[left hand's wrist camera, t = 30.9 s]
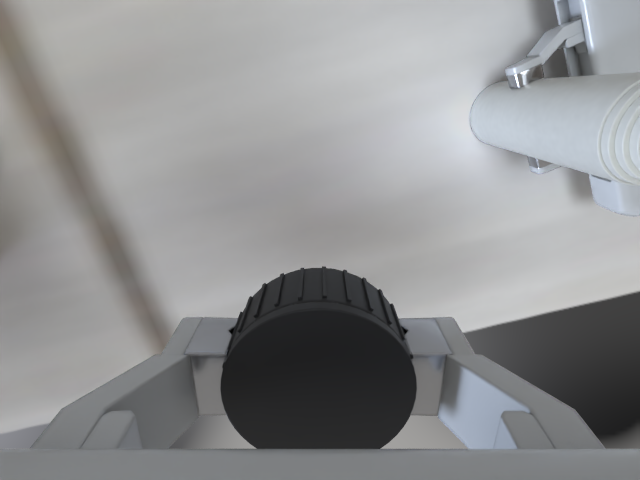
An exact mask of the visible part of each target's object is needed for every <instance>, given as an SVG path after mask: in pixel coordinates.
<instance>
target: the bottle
mask: <svg viewBox="0 0 640 480" xmlns="http://www.w3.org/2000/svg"><path fill="white" fill-rule="evenodd" d="M470 124H471V128H472V131H473V132H474V134H475V136H476V137H477V138H478V139H479V140H480V141H482V142H484V143H486V144H489V145H492V146H495V147H499V148H502V149H506V150H509V151H513V152H516V153H519V154H523V155H526V156H530V157H533V158H537V159H540V160H543V161H547V162H550V163H554V164H557V165H561V166H564V167H567V168H571V169H574V170H578V171H581V172H585V173H588V174H591V175H595V176H598V177H602V178H605V179H609V180H612V181H615V182H619V183H622V184H626V185H632V186H640V72H635V73H620V74H605V75H589V76H574V77H559V78H544V79H539V80H536V81H530V83H529V84H527V85H526V86H523V87H520V88H516V89H515V88H512V89H511V88H509V84H508V81H501V82H497V83H494V84H492V85H490V86H488V87H487V88H485V89H484V90H483V91H482V92H481V93H480V94H479V95H478V97H477V98H476V100H475V102H474V104H473V106H472V109H471V114H470Z"/></svg>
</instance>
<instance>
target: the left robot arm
mask: <svg viewBox="0 0 640 480" xmlns="http://www.w3.org/2000/svg"><path fill="white" fill-rule="evenodd" d="M237 320H238V318H213V317H204V318H203V317H186V318H183V319H182V320H181V322H180V324H179V325H178V327H177V329H176V330H175V332H174V334H173V335H172V337H171V339H170V340H169V342H168V344H167V345H166V347H165V349H164V350H163V352H162V354H161V355H154V356H152V357H150V358H149V359H147V360H145V361H143V362H142V363H140V364H138V365H137V366H135V367H133V368H131V369H130V370H128V371H126V372H125V373H123V374H121V375H119V376H118V377H116V378H114V379H112V380H111V381H109V382H107V383H106V384H104V385H102V386H100V387H99V388H97V389H95V390H93V391H92V392H90V393H88V394H87V395H85V396H83V397H81V398H80V399H78V400H76V401H75V402H73V403H71V404H69V405H68V406H66V407H64V408H62V409H61V410H60V412H59V413H58V414H57V415H56V417H55V418H54V419H53V420H52V421H51V423H50V424H49V425H48V427H47V428H46V429H45V430H44V431H43V433H42V434H41V435H40V436H39V438H38V439H37V440H36V441H35V443H34V444H33V445H32V446H31V447H30V449H0V480H640V449H605V447H604V446H603V445H602V444H601V442H600V441H599V440H598V438H597V437H596V436H595V435H594V433H593V432H592V431H591V430H590V428H589V427H588V426H587V424H586V423H585V422H584V421H583V419H582V418H581V417H580V416H579V414H578V413H577V412H576V411H575V409H573V408H571V407H569V406H568V405H566V404H564V403H563V402H561V401H559V400H558V399H556V398H554V397H552V396H551V395H549V394H547V393H546V392H544V391H542V390H541V389H539V388H537V387H535V386H534V385H532V384H530V383H529V382H527V381H525V380H523V379H522V378H520V377H518V376H517V375H515V374H513V373H512V372H510V371H508V370H506V369H505V368H503V367H501V366H500V365H498V364H496V363H495V362H493V361H491V360H489V359H488V358H486V357H484V356H483V355H475V353H474V351H473V350H472V348H471V346H470V345H469V343H468V341H467V339H466V338H465V336H464V334H463V333H462V331H461V329H460V328H459V326H458V324H457V323H456V321H455V319H454V318H452V317H436V318H402V319H399V322H400V325H401V327H402V328H403V330H404V333H405V335H404V336H405V339H406V340H405V343H406V346H407V348H408V351H409V354H411V353H412V355H413V359H411V360H412V363H413V366H414V369H415V374H416V380H417V392H416V400H415V403H414V407H413V410H412V412H411V415H426V416H438V418H439V419H440V420H441V421H442V422H443V423H444V424H445V425H446V426H447V427H448V428H449V429H450V430H451V431H452V432H453V433H454V434H455V435H456V436H457V437H458V438H459V439H460V440H461V441H462V442H463V443H464V444H465V445H466V446H467V447H468V448H469V449H168V448H169V447H170V446H171V445H172V444H173V443H174V442H175V441H176V440H177V439H178V438H179V437H180V436H181V435H182V434H183V433H184V432H185V431H186V430H187V429H188V428H189V427H190V426H191V425H192V424H193V423H194V422H195V421H196V420H197V419H198V418H199V416H211V415H227V414H226V412H225V410H224V406H223V403H222V399H221V390H220V386H221V375H222V371H223V368H222V365H223V364H225V361H226V359H227V356H228V353H229V350H227V347H228V345H229V342H230V339H231V336H232V334H233V331H234V328H235V325H236V323H237Z"/></svg>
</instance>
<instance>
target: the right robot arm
mask: <svg viewBox="0 0 640 480" xmlns="http://www.w3.org/2000/svg"><path fill="white" fill-rule="evenodd" d="M554 4H555V9H556V14H557V19H558V24H559V26H557V27H555V28H553V29H551V30H549V31H547V32H545V33H544V34H543V36H542V37H541V38H540V40H539V41H538V42H537V43H536V45H535V46H534V47H533V48H532V50H531V51H530V52H529V54H528V55H527V56H526V57H527V58H526V59H524V60H521V61H519V62H517V63H515V64H513V65H511V66H508V67H507V68H505V72H506V76H507V80H508V84H509V88H511V89H512V88H515V89H516V88H520V87H523V86H526V85H527V84H529V83H530V81H536V80H539V79H541V78H543V77H544V74H543V69H542V65H543V64H544V63H545V62H546V61H547V60H548V59H549V57H550V56H551V55H552V54H553V53H554V52H555V51H556V50H558V49H564V54H565V59H566V64H567V69H568V74H569V77H574V76H589V75H605V74H620V73H635V72H640V0H554ZM527 157H528V162H529V167H530V170H531V172H534V173H537V174H543V173H546V172H549V171H551V170H554V169H556V168H559V167H561V165H557V164H554V163H550V162H547V161H543V160H540V159H537V158H533V157H530V156H527ZM589 179H590V184H591V189H592V194H593V199H594V202H595V203H596V204H597V205H599V206H601V207H603V208H606V209H608V210H610V211H612V212H615V213H618V214H621V215H626V216H640V186H632V185H626V184H622V183H619V182H615V181H612V180H609V179H605V178H602V177H598V176H595V175H591V174H589Z"/></svg>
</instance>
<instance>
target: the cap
mask: <svg viewBox="0 0 640 480" xmlns="http://www.w3.org/2000/svg"><path fill="white" fill-rule="evenodd" d="M404 335H405V333H404V330H403V328H402V327H401V325H400V322H399V319H398V317H397V314H396V311H395V308H394V306H393V304H390V303H389V302H388V301H387V299H386V298H385V297H384V296H383V293H382V290H380V289H379V290H377V289H376V288H375V287H374V286H373V285H371V284H370V283H368V282H367V281H366V279H365V278H362V279H361V278H360V277H358V276H355V275H353V274H350V273H347V271H346V270H343V271H340V270H336V269H328V268H326V267H322V268H310V269H304V268H301V270H296V271H294V272H290V273H287V274H285V275H284V273H282V274H280V277H278V278H276V279H274V280H272V281H271V282H269V283H268V284H266V283H264V284H263V285H262V288H261V289H260V290H259V291H258V292H257V293H256V294H255V295H254V296H253V297H251V296H250V298H249V299H248V302H247V305H246V308H245V309H244V311H243V312H240V314H239V317H238V320H237V323H236V325H235V328H234V331H233V334H232V336H231V339H230V342H229V345H228V347H227V350H229V353H228V356H227V359H226V361H225V364H223V365H222V368H223V371H222V375H221V386H220V390H221V399H222V403H223V406H224V410H225V412H226V414H227V416H228V419H229V420H230V422H231V423H232V425H233V426H234V428H235V429H236V430H237V432H238V433H239V434H240V435H241V436H242V437H243V438H244V439H245V440H246V441H247V442H249V443H250V444H251V445H253V446H254V447H256V448H257V449H380V448H382V447H383V446H384V445H386V444H387V443H389V442H390V441H391V440H392V439H393V438H394V437H395V436H396V435H397V434H398V433H399V432H400V430H401V429H402V428H403V427H404V425H405V424H406V422H407V420H408V419H409V417H410V415H411V412H412V410H413V407H414V403H415V400H416V392H417V380H416V374H415V369H414V366H413V363H412V360H411V359H413V355H412V353H411V354H409V351H408V348H407V346H406V343H405V340H406V339H405V336H404Z"/></svg>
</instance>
